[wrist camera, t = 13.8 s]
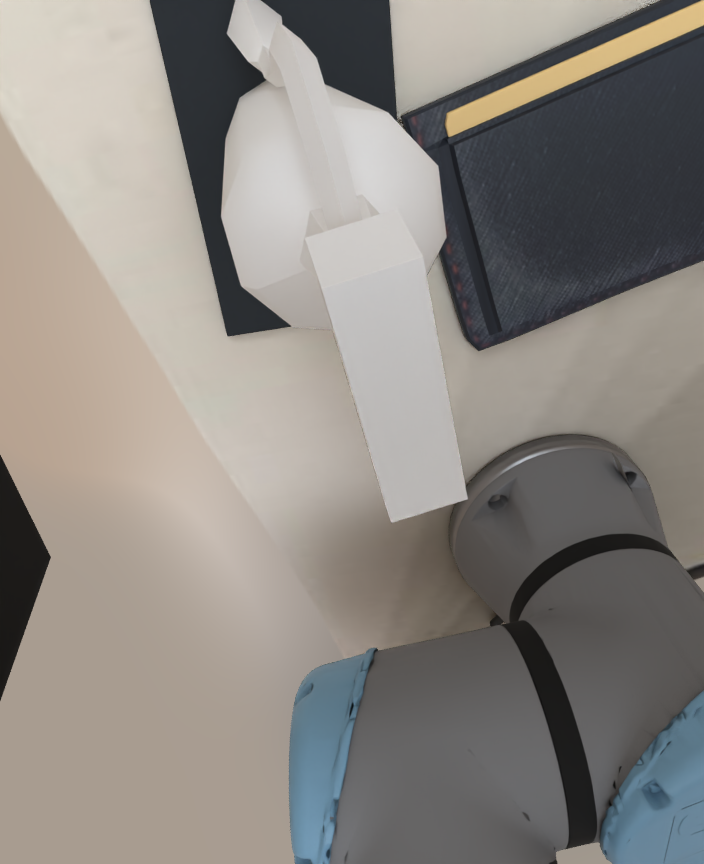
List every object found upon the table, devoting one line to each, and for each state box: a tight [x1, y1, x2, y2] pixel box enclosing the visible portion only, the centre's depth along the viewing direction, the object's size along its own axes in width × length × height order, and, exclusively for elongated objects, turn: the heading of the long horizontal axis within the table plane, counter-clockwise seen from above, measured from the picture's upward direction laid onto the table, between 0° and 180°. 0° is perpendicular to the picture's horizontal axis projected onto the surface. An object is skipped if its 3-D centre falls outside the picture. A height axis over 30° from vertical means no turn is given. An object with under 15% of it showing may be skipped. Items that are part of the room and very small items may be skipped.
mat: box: [150, 0, 397, 336], centre depth 34 cm, size 22×11×1 cm, turn 6°
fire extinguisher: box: [221, 0, 468, 523], centre depth 23 cm, size 7×12×25 cm, turn 13°
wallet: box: [401, 0, 704, 351], centre depth 37 cm, size 20×2×15 cm
